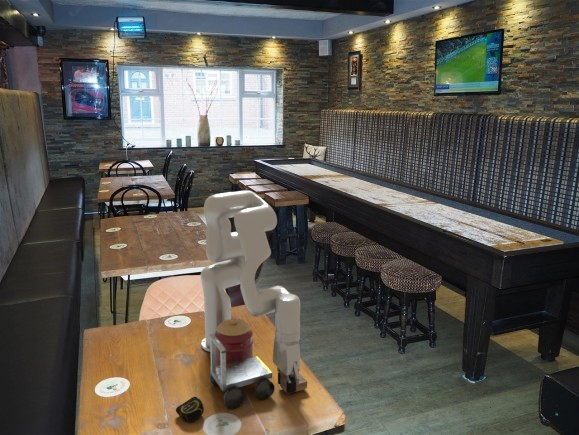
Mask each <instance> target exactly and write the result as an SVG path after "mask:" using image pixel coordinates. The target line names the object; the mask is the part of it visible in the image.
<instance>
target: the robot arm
mask: <svg viewBox="0 0 579 435" xmlns="http://www.w3.org/2000/svg"><path fill="white" fill-rule="evenodd" d="M203 214H204V218H205V223H206V224H205V225H206V228H205V229H206V231H205V233H206V236H205V254H206V257H207V259H208V261H209V262H211V263H212V264H209V265H206V266H205V267H203V269H202V270H201V272H200V281H201V282H200V283H201V286H202V291H203V303H204V304H203V305H204V308H203V309H204V335H205V336H204V338H203V339H202V340H201V343H200V344H201V345H200V346H201V348H202V349H203V350H204V351H206V352H209V353H210V337H209V336H210V334H214V335H215V332H216V331H217V326H218V325H219V324H220V323H222V322H223V321H225V320H228V319H231V318H232V317H231V316H232V315H231V314H232V309H231V308H232V306H231V298H230V296H229V294H228V293H227V292H226V291H225V290H226V289H229V288H231V287H234V286H238V285H240V286H239V287H240V288H239V289H240V292H241V295H242V299H243V302H244V305H245V307H246V309H247V310H246V311H248V313H249V314H250V315H251V316H252V317H256V318H258V317H264V316H265V315H269V314H271V313H274V318H275V321H274V325H275V326H274V331H275V332H274V339H273V348H272V349H273V350H272V362H273V364H274V365H275V366H276V367H277V368H276V369H277V370H276V371H277V384H278V385H280V370H281V371H282V373H284V374H285V375H287V380H288V382H286V392H285V394H286V395H289V394H294V393H297V392H296V381H297V380H298V379H300V375H301V373H300V370H301V351H300V349H301V348H300V342H299V341H300V339H301V338H300V336H301V335H300V333H301V300H300V297H299V296H298V295H296V294H294V293H291V292H290V291H288V290H287V288H286V287H284V286H282V285H274V286H271V287H269V288H268V287H267V288H264V289H261V290H257V287H256V282H255V278H256V273H257V270H258V268H259V267H260V266H261V264H262V263H264V262H265V261H266V260H267V259H268V258H270V256H271V254H272V249H271V248H270V247H271V246H270V244H269V241H268V238H267V234H266V232H268V231H269V232H270V231H272V230H274V229H275V228H276V226H277V224H278V218H277V214H276V212H275V211H274V209H273V207H272V206H271V205H270V204H269V203H268V202H266V201H265V200H264V199H263V198H262V197H261V196H259V195H258V194H257V193H256V192H253V191H252V190H238V191H228V192H222V193H216V194H212V195H210V196H208V197H207V198H206V199H205V202H204V205H203ZM230 218H233V223H234V227H235V230H236V231H233V232H232V223H231V221H230ZM215 353H216V348H215ZM292 370H293V371H292ZM291 374H293V375H294V376H293V377H291V378H290V375H291Z"/></svg>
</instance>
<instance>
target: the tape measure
mask: <svg viewBox="0 0 579 435" xmlns="http://www.w3.org/2000/svg"><path fill="white" fill-rule="evenodd" d="M175 408H176V409H175V412H176V414H177V415H178V416H179V417H181V419H182V420H183V421H184V422H187V423H192V422H195V421H197V420H199V418H201V417H202V415H203V414H204V410H205V409H204V404H203V402H202V400H201V399H200V398H198V397H197V396H192V397H190V398H189V399H188V400H186V401H185V402H184V403H182V404H180V405H178V406H177V407H175Z"/></svg>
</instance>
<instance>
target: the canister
mask: <svg viewBox="0 0 579 435" xmlns="http://www.w3.org/2000/svg"><path fill="white" fill-rule="evenodd" d="M215 336H216V337H217V339H218V340H219V341H220V342H221V344H222V345H223V346H224V347H225V349H226V364H229V363H233V362H237V361H241V360H245V359H249V358H253V357H254V355H253V354H254V352H253V351H254V350H253V346H254V345H253V344H254V341H253V338H252V337H253V336H254V331H253V330H252V329H251V325H250V323H249V322H247V321H245V320H243V319H240V318H236V317H235V316H233V317H231V319H228V320H225V321H223V322H222V323H220V324H219V325H218V326H217V331H216V332H215ZM215 348H216V367H217V366H221V361H220V350H219V349H218V348H217V346H216V345H215Z"/></svg>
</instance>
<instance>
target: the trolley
mask: <svg viewBox="0 0 579 435" xmlns="http://www.w3.org/2000/svg"><path fill="white" fill-rule="evenodd" d="M209 337H210V352H209V353H210V373H209V376H208V378H209V379H208V380H209V382H210V383H211V385H212V386H214V387H217V388H218V387H219V388H220V390H221V391H222V392H225V393H224V395H223V397H222V398H223V399H222V400H223V403H224V405H225V406H226V407H227V409H229V410H236V409H237V408H239V407H240V406H241V405H242V404H243V403H244V400H245V394H244V391H242V389H241V388H242V387H245V386H248V385H253V384H255V386H254V395H255V396H256V397H257V398H258V399H259V400H260V401H261V400H262V401H265V400H267V399H270V398H271V397H272V395H274V392H275V384H274V382H272V381H271V380H270V379H273V372H272V371H271V370H270V368H269V367H268V366H267V365H266V364H265V363H264V362H263V361H262V360H261V359H260V358H259V356H258V355H257V356H253V358H249V359H245V360H241V361H237V362H233V363H229V364H226V349H225V347H224V346H223V345H222V344H221V342H220V341H219V340H218V339H217V337H216V336H215V335H214V334H210V336H209ZM215 345H216V346H217V348H218V349H219V350H220V361H221V366H217V367H216V353H215Z"/></svg>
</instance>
